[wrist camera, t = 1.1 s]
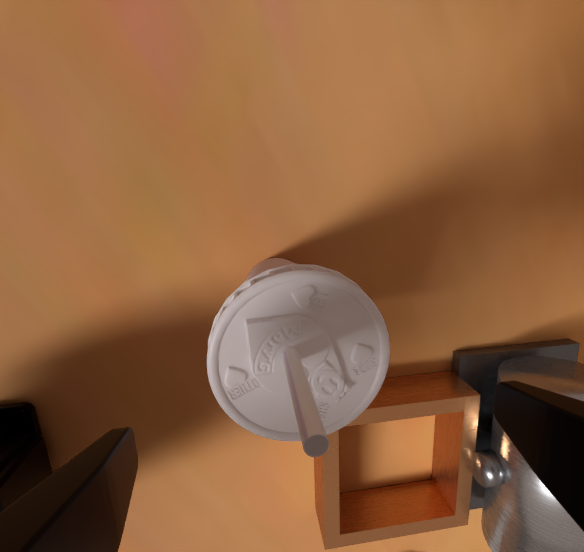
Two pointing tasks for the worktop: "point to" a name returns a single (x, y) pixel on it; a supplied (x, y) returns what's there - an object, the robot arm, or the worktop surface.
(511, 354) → the motor unit
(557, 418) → the robot arm
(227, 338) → the white cup with straw
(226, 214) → the worktop surface
